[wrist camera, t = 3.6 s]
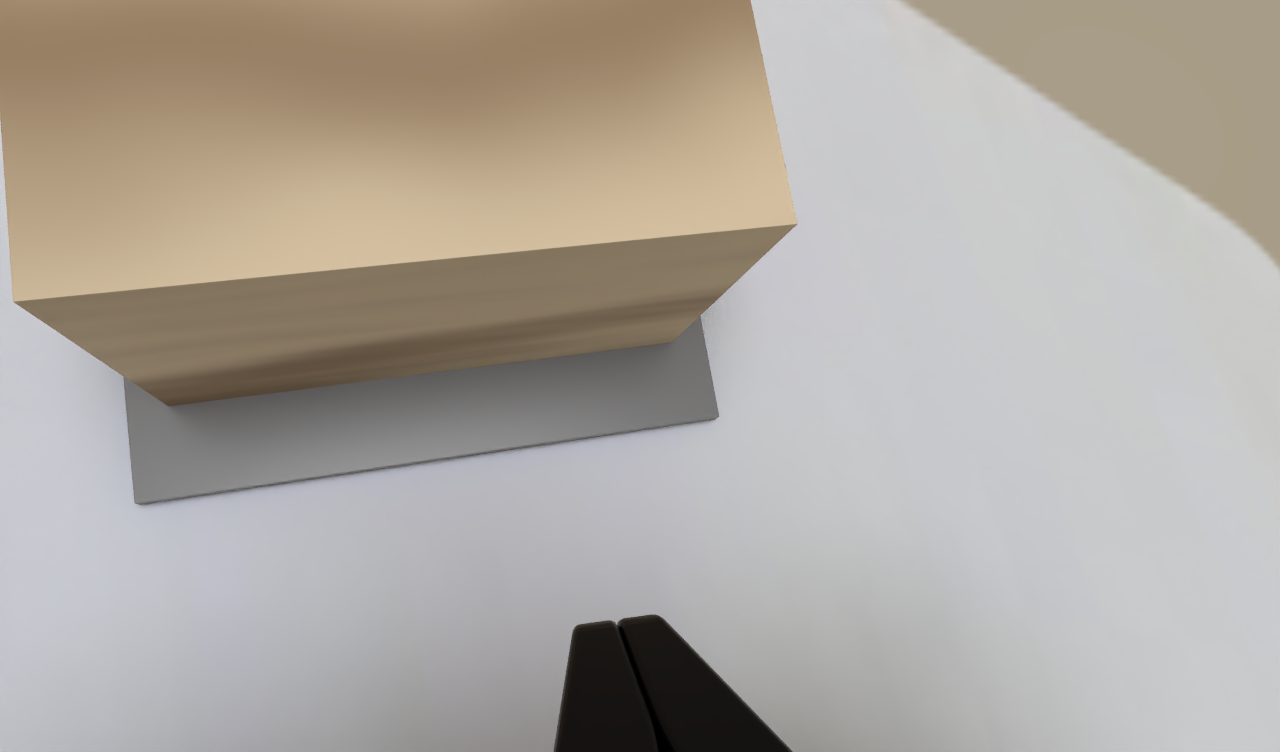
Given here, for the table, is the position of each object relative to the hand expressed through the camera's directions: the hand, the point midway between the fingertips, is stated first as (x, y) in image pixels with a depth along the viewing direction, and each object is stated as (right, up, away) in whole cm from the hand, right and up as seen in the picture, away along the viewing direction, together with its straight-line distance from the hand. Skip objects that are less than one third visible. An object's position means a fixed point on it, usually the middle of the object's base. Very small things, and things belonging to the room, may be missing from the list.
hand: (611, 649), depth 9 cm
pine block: (-5, +6, +13) cm, 15 cm away
